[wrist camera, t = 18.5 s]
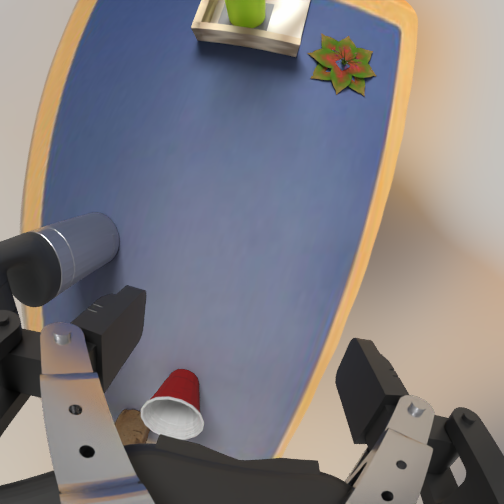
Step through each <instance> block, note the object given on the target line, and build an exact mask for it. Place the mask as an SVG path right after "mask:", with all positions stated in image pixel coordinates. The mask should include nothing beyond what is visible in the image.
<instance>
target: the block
mask: <svg viewBox="0 0 504 504" xmlns="http://www.w3.org/2000/svg"><path fill="white" fill-rule="evenodd" d="M115 427H116V429H117V432H118V434H119V437H120V439H121V442H122V444H123V445H129V444H140V443H144V444H146V441H147V438H148V434H149V431H150V429H149V428H148V427H147V426H146V425H145V424H144V422H143V420H142V418H141V412H139V411H137V410H134V409H132V410H127V409H126V410H123V411H122V413H121V414H120V415H119V417H118V418H117V420H116V422H115Z"/></svg>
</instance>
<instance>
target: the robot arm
mask: <svg viewBox="0 0 504 504" xmlns="http://www.w3.org/2000/svg"><path fill="white" fill-rule="evenodd" d="M118 248H119V234H118V231H117V228H116V226H115V224H114V223H113V222H112V220H111V219H110V218H109V217H107V216H106V215H104V214H102V213H98V212H95V213H89V214H86V215H82V216H78V217H75V218H71V219H68V220H64V221H61V222H58V223H54V224H51V225H48V226H45V227H41V228H39V229H35V230H32V231H29V232H26V233H23V234H21V235H18V236H15V237H13V238H10V239H7V240H4V241H1V242H0V437H1V435H2V434H3V432H4V431H5V430H6V428H7V427H8V425H9V424H10V423H11V421H12V420H13V418H14V417H15V416H16V414H17V413H18V412H19V410H20V409H21V408H22V406H23V405H24V404H25V402H26V401H27V400H28V398H29V397H30V396H31V395H32V396H36V397H40V398H42V407H43V414H44V421H45V428H46V434H47V439H48V445H49V450H50V455H51V459H52V464H53V468H54V471H51V472H47V473H44V474H41V475H38V476H34V477H31V478H28V479H24V480H20V481H17V482H13V483H10V484H5V485H1V486H0V504H416V503H417V500H418V497H419V494H421V497H422V500H423V504H504V456H503V454H502V452H501V451H500V449H499V447H498V446H497V444H496V442H495V441H494V439H493V438H492V436H491V435H490V433H489V432H488V430H487V428H486V427H485V425H484V424H483V422H482V421H481V419H480V418H479V417H478V415H477V414H475V413H474V412H472V411H471V410H469V409H466V408H462V407H459V408H456V409H454V411H453V412H452V414H451V415H450V417H449V418H445V417H441V416H436V415H434V410H433V408H432V407H431V405H430V404H429V403H428V402H427V401H425V400H424V399H422V398H420V397H417V396H413V395H409V394H408V392H407V390H406V388H405V387H404V385H403V383H402V382H401V380H400V378H398V375H397V373H396V372H395V371H394V368H393V367H392V365H391V364H390V362H389V361H388V360H387V359H386V358H385V357H383V356H382V355H381V354H380V353H379V351H378V350H377V348H376V346H375V345H374V343H373V342H372V341H371V340H365V339H359V338H353V339H352V340H351V341H350V343H349V345H348V348H347V350H346V352H345V355H344V357H343V359H342V361H341V363H340V366H339V368H338V370H337V374H336V386H337V390H338V393H339V396H340V399H341V402H342V406H343V409H344V412H345V415H346V419H347V422H348V425H349V428H350V432H351V435H352V438H353V441H354V444H367V445H368V447H367V449H366V450H365V451H364V453H363V454H362V456H361V458H360V459H359V461H358V462H357V464H356V465H355V467H354V469H353V470H352V472H351V473H350V474H349V476H348V477H347V479H346V480H345V482H344V481H342V480H341V479H339V478H337V477H334V476H332V475H329V474H326V473H323V472H320V470H319V464H318V461H314V460H298V459H287V458H275V459H262V460H237V459H234V458H232V457H229V456H227V455H224V454H221V453H219V452H217V451H214V450H212V449H209V448H207V447H205V446H202V445H200V444H196V443H192V442H188V441H184V440H180V439H176V438H173V437H169V436H166V435H162V434H160V435H159V438H158V441H157V444H144V443H140V444H129V445H123V444H122V442H121V439H120V437H119V434H118V432H117V429H116V427H115V424H114V421H113V419H112V416H111V413H110V411H109V408H108V405H107V402H106V399H105V396H104V393H105V391H106V390H107V388H108V387H109V385H110V384H111V382H112V381H113V379H114V378H115V376H116V375H117V373H118V372H119V370H120V369H121V367H122V366H123V364H124V363H125V361H126V360H127V358H128V357H129V355H130V354H131V352H132V351H133V350H134V348H135V347H136V345H137V344H138V342H139V340H140V338H141V335H142V332H143V326H144V315H145V304H146V291H145V290H142V289H139V288H135V287H132V286H128V285H127V286H125V287H124V288H123V289H122V290H121V291H119V292H118V293H117V294H116V295H115V294H109V295H106V296H103V297H100V298H99V299H98V300H97V301H96V302H94V304H92V305H91V306H90V307H88V309H86V310H85V311H84V312H83V313H81V314H80V315H79V316H78V317H77V318H76V319H75V320H73V321H72V322H71V323H66V322H56V323H51V324H49V325H47V326H45V327H44V328H43V329H42V331H41V332H35V331H31V330H26V329H22V328H21V321H20V318H19V314H18V311H17V308H16V305H15V302H14V298H13V295H14V296H15V297H16V298H17V299H18V300H19V301H20V302H22V303H23V304H25V305H27V306H30V307H39V306H42V305H44V304H46V303H48V302H49V301H50V300H52V299H53V298H55V297H56V296H58V295H59V294H60V293H62V292H63V291H65V290H66V289H68V288H69V287H71V286H72V285H74V284H75V283H77V282H78V281H80V280H81V279H83V278H85V277H86V276H88V275H89V274H91V273H92V272H94V271H95V270H97V269H99V268H100V267H102V266H103V265H105V264H107V263H108V262H110V261H111V260H112V259H113V258H114V257H115V255H116V254H117V251H118ZM12 294H13V295H12ZM459 456H460V458H461V460H462V462H463V464H464V466H465V469H466V478H465V481H464V482H463V483H462V484H461V485H460V486H459V487H458V485H457V483H456V481H455V478H454V476H453V474H452V472H451V469H450V466H451V465H452V464H453V463H454V462H455V460H456V459H457V458H458V457H459Z"/></svg>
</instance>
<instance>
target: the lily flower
mask: <svg viewBox="0 0 504 504" xmlns="http://www.w3.org/2000/svg"><path fill="white" fill-rule="evenodd" d="M321 34H322V33H321ZM332 49H333V50H335V51H336V52H334V51H333V50H332ZM372 52H373V51H369V50H365V49H362V48H356V46H355V44H354V43H353V42H352V40H350V37H349V36H348V37H346V38H345V39H342V40H341V41H339V42H338V41H337V40H335V39H333V38H331V37H328V36H325V35H323V34H322V49H319V50H316V51H314V52H313V53H308V54H309V55H311V56H312V57H313V58H315V60H317V61H318V62H319V64H318V65H317V66H316V68H315V70H314V73H313V76H312V77H311V78H314V79H321V80H332V83H333V86H334V88H335V90H336V95H337V94H338V92H340V91H341V90H342V89H344V88H346V87H347V86H349V87H350V88H352V89H353V90H355V91H357V92H358V93H361V94H362V95H363V96H365V95H364V91H365V90H364V88H365V81H364V78H365V77H372V76H376V75H375V73H374V72H373V70H371V69H372V68H371V67H370V65H369V64H368V62H369V60H370V58H371V54H372ZM341 58H344V59H341ZM354 58H355V59H354ZM339 59H341V60H342V64H343V65H345V64H348V65H350V67H349V68H347V69H346V70H343V71H341V70H340V68H339V67H338V66H337V64H336V62H335V61H337V60H339ZM345 60H346V61H345ZM347 62H348V63H347ZM337 63H339V62H337ZM327 68H332V69H331V72H325V71H326V70H327ZM351 75H353V76H354V78H355V82H354V81H353V80H352V76H351Z"/></svg>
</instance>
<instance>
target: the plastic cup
mask: <svg viewBox="0 0 504 504" xmlns="http://www.w3.org/2000/svg"><path fill="white" fill-rule="evenodd" d="M141 418H142V420H143V422H144V424H145V425H146V426H147V427H148V428H149V429H150V430H151V431H153V432H154V433H156V434H158V435H160V434H162V435H166V436H169V437H173V438H176V439H180V440H187V439H190V438H193V437H196V436H197V435H198V434H199V433H200V432H202V430H203V426H204V421H203V418H202V416H201V413H200V404H199V381H198V378H197V377H196V375H195V374H194V373H192V372H191V371H189V370H185V369H177V370H175V371H173V372H172V373H171V374H170V376H169V377H168V378H167V379H166V380H165V382H164V383H163V384H162V385H161V387H160V388H159V389H158V391H157V392H156V393H155V394H154V396H153V397H152V398H151V399H150V400H148V401H147V402H146V403H145V404H144V405H143V407H142V408H141Z"/></svg>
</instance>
